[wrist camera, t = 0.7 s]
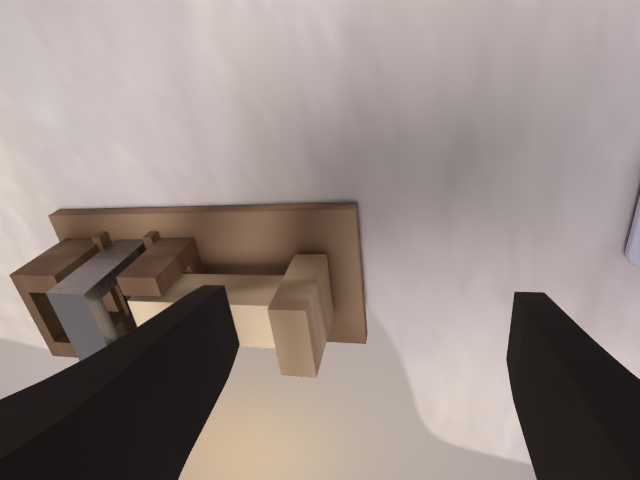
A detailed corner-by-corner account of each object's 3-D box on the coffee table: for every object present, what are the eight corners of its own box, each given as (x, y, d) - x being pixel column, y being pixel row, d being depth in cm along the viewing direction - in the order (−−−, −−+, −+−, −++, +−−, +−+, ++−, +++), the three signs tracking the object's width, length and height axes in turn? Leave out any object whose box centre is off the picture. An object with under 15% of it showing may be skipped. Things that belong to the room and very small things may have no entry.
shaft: (326, 254, 20) (305, 310, 16) (333, 313, 22) (316, 377, 18) (161, 253, 22) (109, 303, 19) (179, 307, 24) (135, 364, 20)
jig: (357, 202, 20) (342, 251, 16) (367, 333, 24) (357, 399, 20) (58, 209, 24) (-13, 249, 20) (107, 321, 27) (55, 373, 24)
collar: (147, 239, 22) (83, 294, 18) (173, 313, 25) (121, 378, 20) (115, 239, 23) (45, 292, 19) (143, 312, 25) (87, 375, 21)
